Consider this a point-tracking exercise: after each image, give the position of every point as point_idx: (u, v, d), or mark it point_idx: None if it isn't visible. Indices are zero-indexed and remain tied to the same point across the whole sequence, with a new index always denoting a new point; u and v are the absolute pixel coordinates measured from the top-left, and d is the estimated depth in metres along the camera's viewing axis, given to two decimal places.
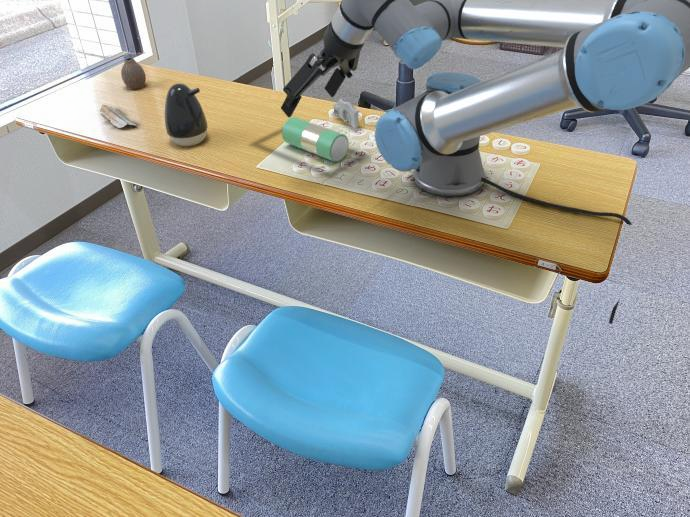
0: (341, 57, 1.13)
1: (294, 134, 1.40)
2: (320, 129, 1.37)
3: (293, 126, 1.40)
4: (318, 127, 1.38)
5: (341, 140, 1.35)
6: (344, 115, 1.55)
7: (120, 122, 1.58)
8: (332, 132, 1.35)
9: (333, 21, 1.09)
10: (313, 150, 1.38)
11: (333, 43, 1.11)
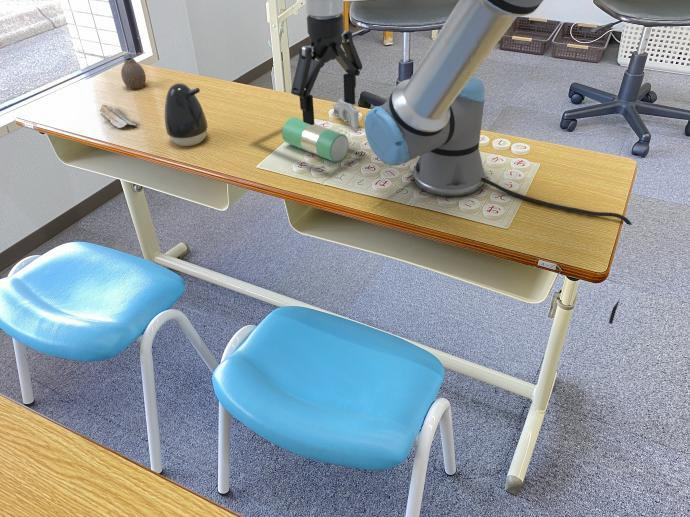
0: (327, 36, 1.18)
1: (294, 134, 1.40)
2: (320, 129, 1.37)
3: (293, 126, 1.40)
4: (318, 127, 1.38)
5: (341, 140, 1.35)
6: (344, 115, 1.55)
7: (120, 121, 1.58)
8: (332, 132, 1.35)
9: (306, 9, 1.18)
10: (313, 150, 1.38)
11: (314, 27, 1.18)
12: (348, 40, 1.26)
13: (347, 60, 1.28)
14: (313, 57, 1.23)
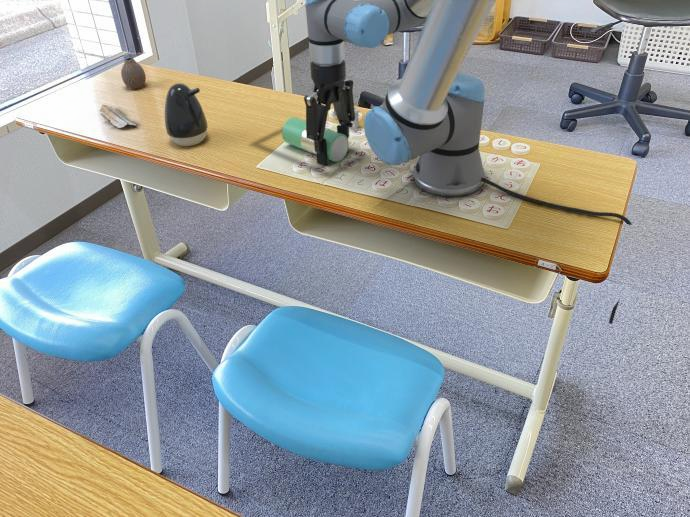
0: (329, 81, 1.24)
1: (294, 134, 1.40)
2: None
3: (293, 126, 1.40)
4: None
5: (341, 140, 1.35)
6: None
7: (120, 122, 1.58)
8: (332, 132, 1.35)
9: (310, 56, 1.24)
10: (313, 150, 1.38)
11: (317, 73, 1.24)
12: (349, 87, 1.32)
13: (344, 109, 1.33)
14: (316, 100, 1.29)
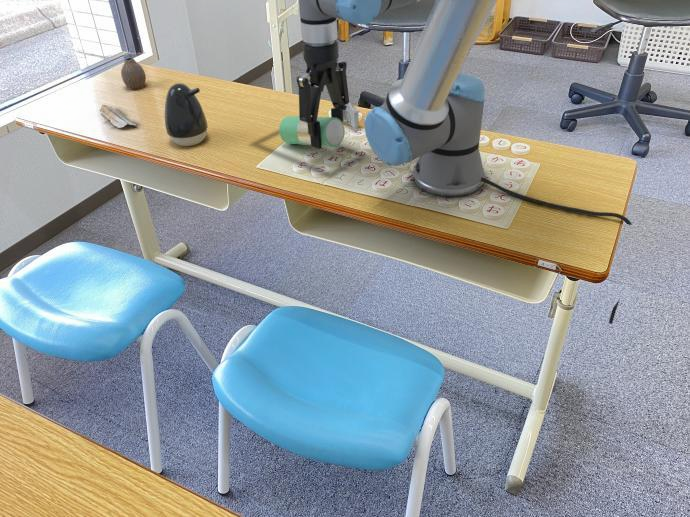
0: (322, 62, 1.23)
1: (290, 129, 1.40)
2: None
3: (288, 122, 1.41)
4: None
5: (335, 123, 1.34)
6: (344, 115, 1.55)
7: (120, 121, 1.58)
8: (325, 117, 1.34)
9: (302, 36, 1.22)
10: (310, 140, 1.37)
11: (309, 53, 1.22)
12: (342, 69, 1.31)
13: (338, 91, 1.32)
14: (309, 82, 1.28)
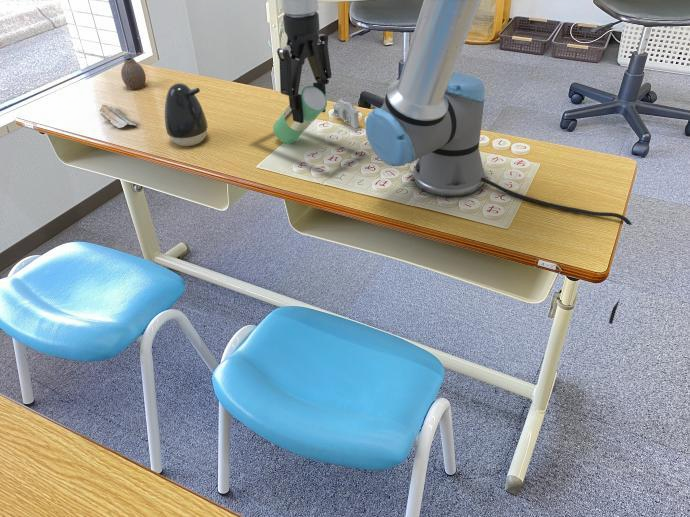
0: (302, 33, 1.23)
1: (280, 123, 1.41)
2: None
3: (278, 119, 1.43)
4: None
5: (312, 91, 1.34)
6: (344, 115, 1.55)
7: (120, 122, 1.58)
8: None
9: (282, 7, 1.22)
10: None
11: (289, 25, 1.22)
12: (323, 42, 1.30)
13: (319, 64, 1.32)
14: (290, 54, 1.28)
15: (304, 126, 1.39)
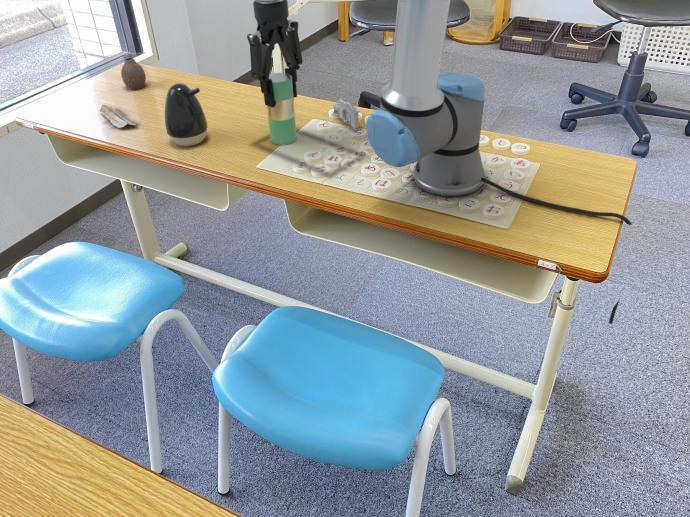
0: (271, 19, 1.27)
1: (269, 126, 1.45)
2: None
3: None
4: None
5: (275, 74, 1.40)
6: (344, 115, 1.55)
7: (120, 121, 1.58)
8: None
9: None
10: None
11: (259, 11, 1.26)
12: (294, 29, 1.35)
13: (290, 50, 1.36)
14: (261, 40, 1.32)
15: (285, 110, 1.40)
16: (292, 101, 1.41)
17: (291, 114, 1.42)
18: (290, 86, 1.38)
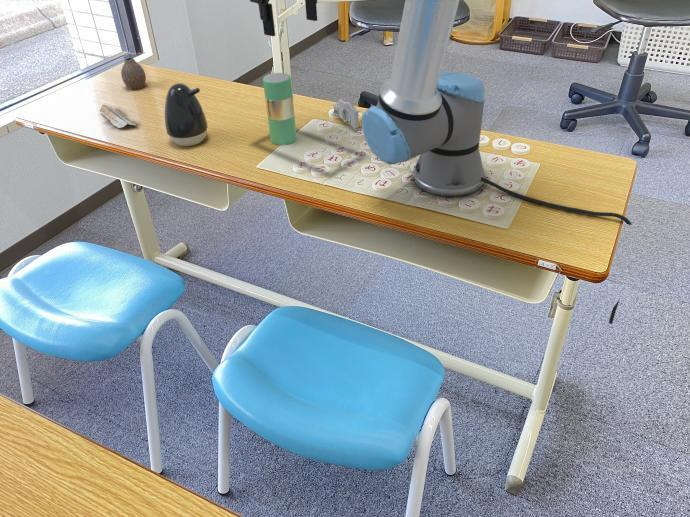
0: None
1: (269, 126, 1.45)
2: None
3: None
4: None
5: (274, 74, 1.40)
6: (344, 115, 1.55)
7: (120, 121, 1.58)
8: None
9: None
10: (272, 104, 1.40)
11: None
12: None
13: None
14: None
15: (284, 110, 1.40)
16: (291, 101, 1.41)
17: (290, 114, 1.42)
18: (289, 86, 1.38)
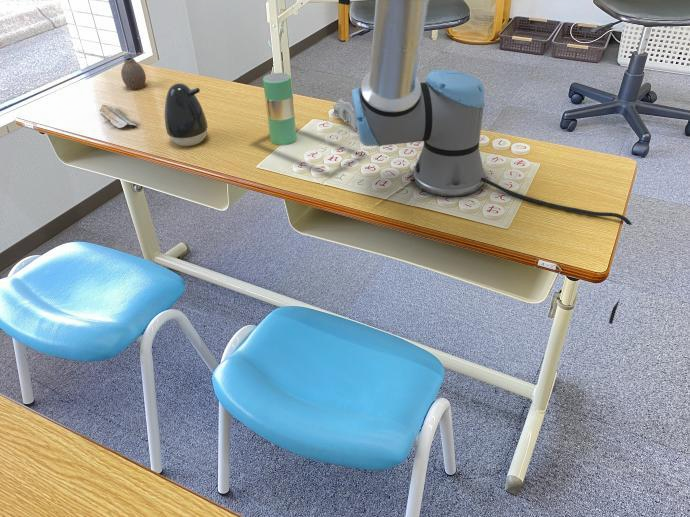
0: None
1: (269, 126, 1.45)
2: None
3: None
4: None
5: (274, 74, 1.40)
6: (344, 115, 1.55)
7: (120, 122, 1.58)
8: None
9: None
10: (272, 104, 1.40)
11: None
12: None
13: None
14: None
15: (284, 110, 1.40)
16: (291, 101, 1.41)
17: (290, 114, 1.42)
18: (289, 86, 1.38)
